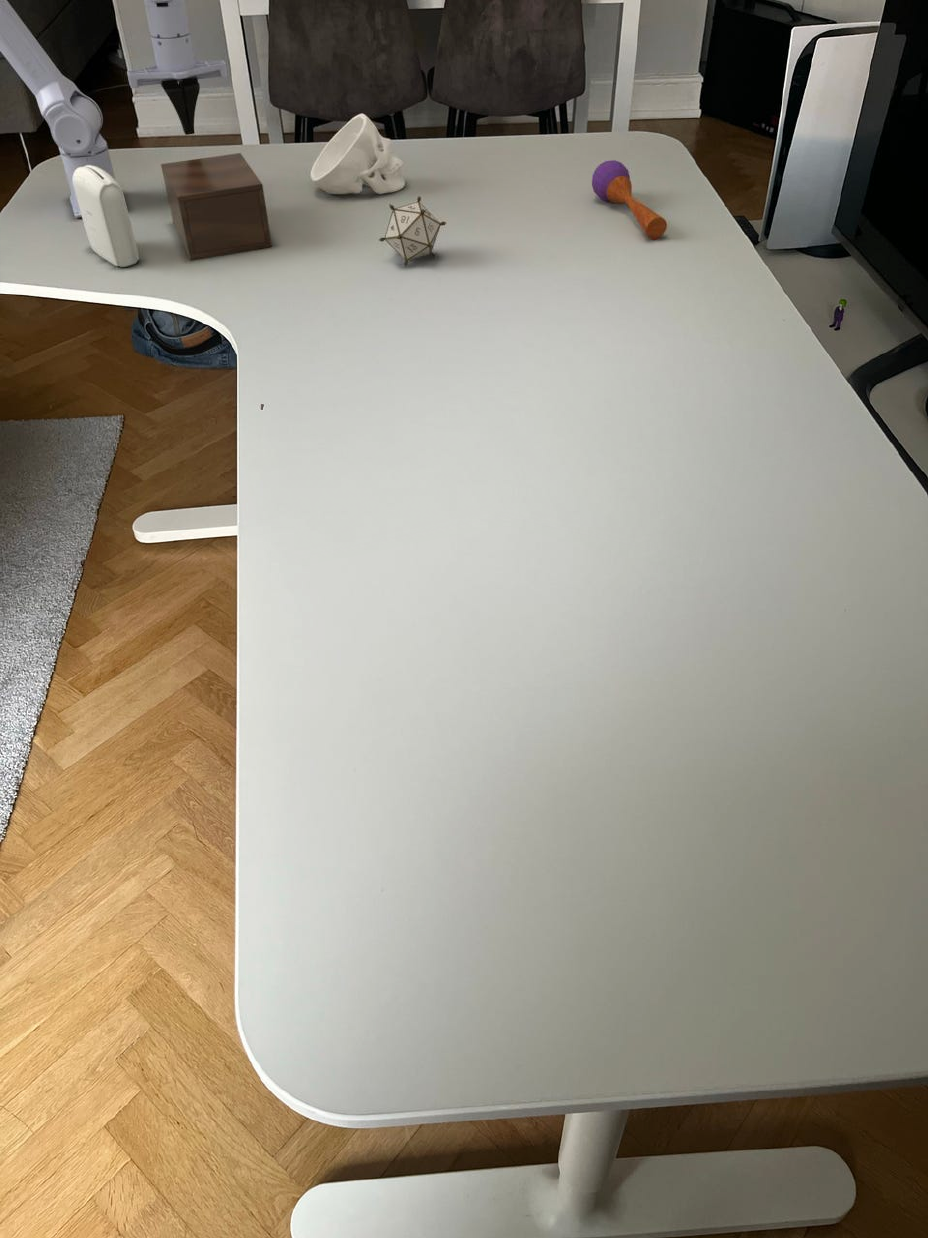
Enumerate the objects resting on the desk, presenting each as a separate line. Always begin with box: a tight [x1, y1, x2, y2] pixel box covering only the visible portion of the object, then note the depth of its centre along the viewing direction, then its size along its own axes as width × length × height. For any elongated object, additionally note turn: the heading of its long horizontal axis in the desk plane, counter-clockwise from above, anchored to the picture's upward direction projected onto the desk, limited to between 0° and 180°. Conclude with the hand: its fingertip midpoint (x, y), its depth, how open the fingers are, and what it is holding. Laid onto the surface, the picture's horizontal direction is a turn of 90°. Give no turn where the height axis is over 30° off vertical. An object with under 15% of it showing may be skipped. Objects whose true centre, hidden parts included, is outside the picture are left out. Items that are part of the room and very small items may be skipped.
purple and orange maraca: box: [591, 159, 668, 240], centre depth 153 cm, size 6×6×20 cm
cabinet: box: [160, 152, 273, 261], centre depth 148 cm, size 15×12×9 cm
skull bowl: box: [309, 113, 406, 195], centre depth 163 cm, size 10×14×12 cm
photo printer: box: [72, 165, 140, 268], centre depth 142 cm, size 10×4×12 cm, turn 39°
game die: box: [378, 195, 447, 268], centre depth 141 cm, size 9×8×10 cm
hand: (189, 132), depth 155 cm, fingers closed
